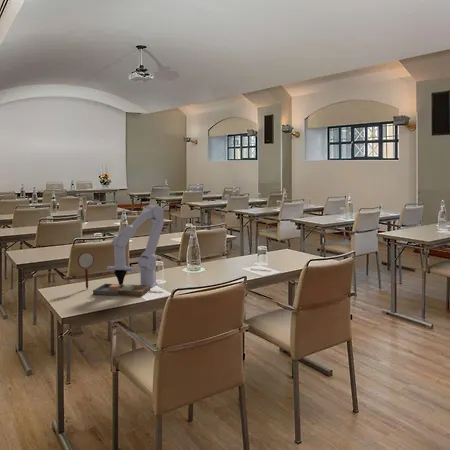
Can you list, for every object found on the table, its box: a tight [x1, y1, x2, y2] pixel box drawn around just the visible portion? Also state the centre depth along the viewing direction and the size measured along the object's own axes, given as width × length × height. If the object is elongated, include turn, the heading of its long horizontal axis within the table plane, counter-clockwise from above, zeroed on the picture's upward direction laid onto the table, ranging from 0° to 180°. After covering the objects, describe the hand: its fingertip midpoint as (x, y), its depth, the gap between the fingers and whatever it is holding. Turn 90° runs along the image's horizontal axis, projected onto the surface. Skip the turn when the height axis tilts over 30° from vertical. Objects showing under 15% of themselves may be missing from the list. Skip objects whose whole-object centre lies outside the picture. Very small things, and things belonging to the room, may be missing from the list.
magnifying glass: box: [77, 251, 95, 290], centre depth 258 cm, size 9×2×20 cm, turn 126°
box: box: [92, 283, 125, 297], centre depth 255 cm, size 14×13×2 cm
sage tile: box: [122, 283, 135, 291], centre depth 249 cm, size 4×4×2 cm
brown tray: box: [117, 284, 151, 298], centre depth 252 cm, size 12×13×2 cm
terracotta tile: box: [109, 283, 121, 291], centre depth 257 cm, size 4×4×2 cm
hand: (121, 284), depth 256 cm, fingers closed
